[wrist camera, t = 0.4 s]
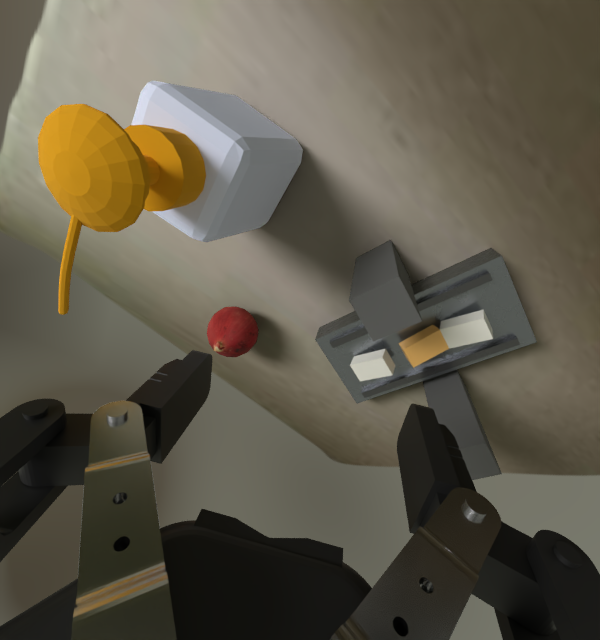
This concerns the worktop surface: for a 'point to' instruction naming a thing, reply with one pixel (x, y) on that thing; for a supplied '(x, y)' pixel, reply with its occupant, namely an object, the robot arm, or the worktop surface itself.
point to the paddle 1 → (373, 365)
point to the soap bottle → (166, 166)
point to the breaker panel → (435, 306)
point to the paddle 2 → (466, 329)
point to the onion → (232, 331)
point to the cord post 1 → (383, 292)
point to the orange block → (424, 345)
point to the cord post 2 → (461, 422)
